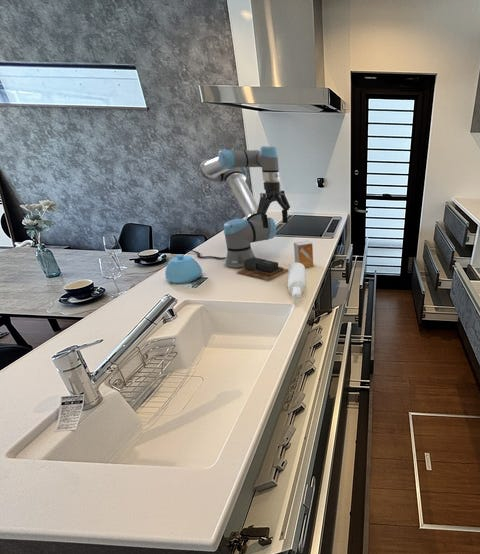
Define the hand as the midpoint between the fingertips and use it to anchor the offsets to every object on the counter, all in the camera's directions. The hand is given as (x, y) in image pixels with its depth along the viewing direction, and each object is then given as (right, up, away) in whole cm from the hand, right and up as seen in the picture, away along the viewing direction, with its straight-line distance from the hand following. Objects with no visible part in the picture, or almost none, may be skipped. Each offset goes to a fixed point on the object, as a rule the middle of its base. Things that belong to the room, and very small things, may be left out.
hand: (275, 225), depth 153 cm
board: (-7, -24, +1) cm, 25 cm away
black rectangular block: (-3, -23, -1) cm, 24 cm away
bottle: (+12, -23, -5) cm, 26 cm away
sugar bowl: (-41, -27, -8) cm, 50 cm away
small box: (+12, -20, +10) cm, 26 cm away
